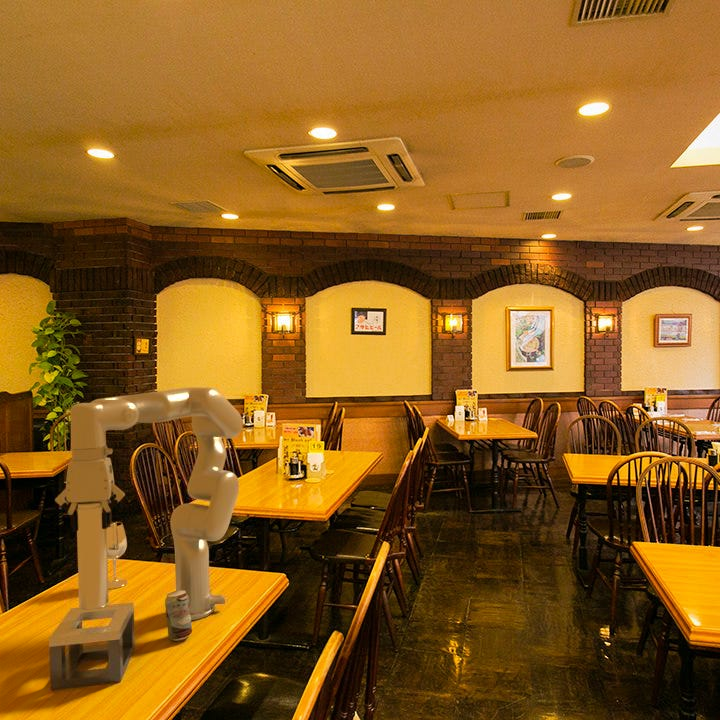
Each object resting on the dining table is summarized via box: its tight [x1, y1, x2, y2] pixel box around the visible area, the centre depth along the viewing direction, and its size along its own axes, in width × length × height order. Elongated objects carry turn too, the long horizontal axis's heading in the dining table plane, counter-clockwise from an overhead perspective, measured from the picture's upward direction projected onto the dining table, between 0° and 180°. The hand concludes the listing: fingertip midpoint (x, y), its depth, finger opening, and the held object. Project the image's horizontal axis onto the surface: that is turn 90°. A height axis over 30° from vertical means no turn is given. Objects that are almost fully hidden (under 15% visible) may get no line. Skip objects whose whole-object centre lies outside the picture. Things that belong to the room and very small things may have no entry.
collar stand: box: [48, 601, 136, 691], centre depth 135 cm, size 15×15×12 cm
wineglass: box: [107, 521, 128, 590], centre depth 185 cm, size 8×8×20 cm
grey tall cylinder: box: [76, 502, 110, 610], centre depth 135 cm, size 6×6×25 cm
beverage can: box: [164, 590, 193, 642], centre depth 149 cm, size 6×7×12 cm
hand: (91, 527), depth 135 cm, fingers closed on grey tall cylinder, 6 cm apart
